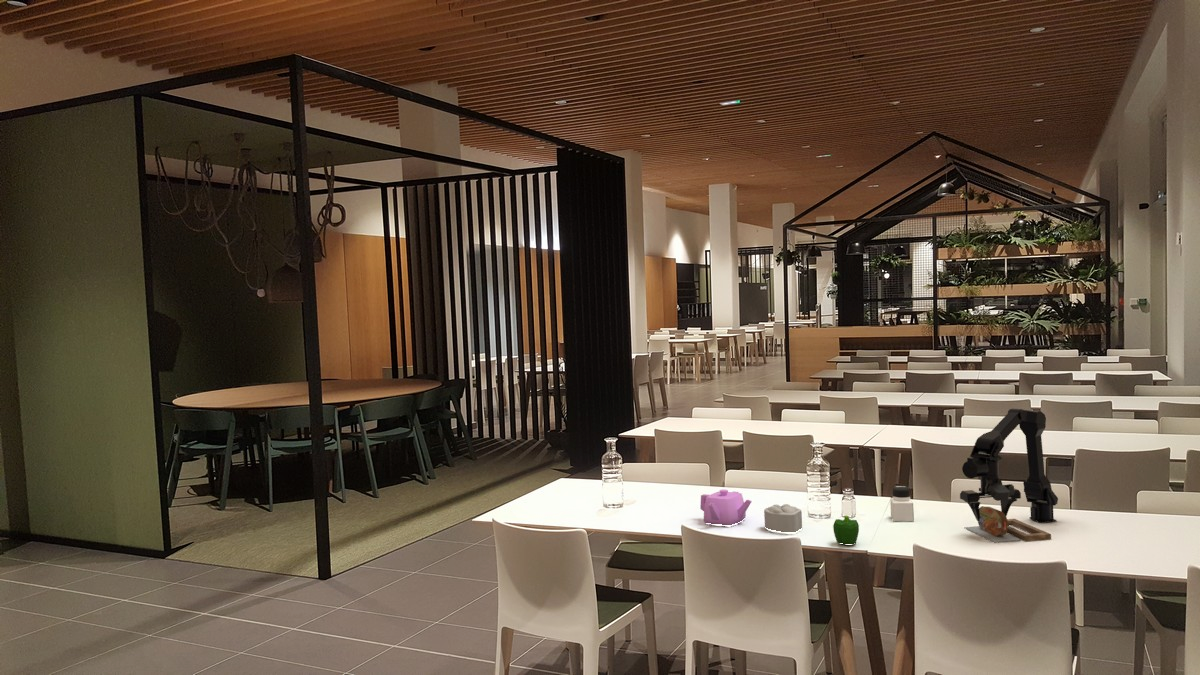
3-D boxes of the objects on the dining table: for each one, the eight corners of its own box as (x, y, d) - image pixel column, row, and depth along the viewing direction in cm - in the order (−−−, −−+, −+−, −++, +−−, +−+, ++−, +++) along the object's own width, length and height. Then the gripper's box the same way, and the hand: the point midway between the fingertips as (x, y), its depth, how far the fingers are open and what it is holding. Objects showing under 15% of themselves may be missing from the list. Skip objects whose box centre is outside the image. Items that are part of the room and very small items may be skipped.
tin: (976, 527, 295) (975, 503, 294) (985, 527, 295) (984, 503, 295) (1000, 539, 280) (1000, 513, 279) (1010, 538, 280) (1009, 513, 280)
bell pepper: (835, 539, 290) (834, 510, 290) (860, 541, 287) (859, 512, 287) (832, 546, 282) (831, 516, 282) (857, 548, 279) (856, 518, 279)
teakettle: (738, 515, 331) (737, 483, 331) (754, 525, 314) (752, 492, 314) (696, 519, 328) (695, 487, 328) (710, 530, 311) (709, 496, 311)
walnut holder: (1014, 523, 299) (1014, 518, 299) (1051, 539, 278) (1051, 534, 278) (990, 525, 298) (989, 520, 298) (1025, 541, 277) (1025, 536, 277)
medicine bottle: (914, 521, 308) (912, 489, 308) (893, 521, 309) (892, 489, 309) (910, 516, 315) (909, 484, 315) (890, 516, 316) (889, 485, 316)
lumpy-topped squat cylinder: (793, 535, 298) (792, 511, 298) (759, 531, 306) (758, 507, 306) (805, 528, 306) (804, 504, 306) (771, 524, 314) (770, 501, 314)
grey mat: (988, 526, 297) (988, 525, 297) (1020, 540, 278) (1020, 539, 278) (964, 528, 296) (964, 527, 296) (994, 542, 277) (994, 541, 277)
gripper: (975, 480, 277) (977, 527, 278) (1029, 476, 279) (1031, 523, 280) (958, 474, 289) (960, 519, 289) (1010, 470, 290) (1012, 515, 291)
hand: (991, 519), depth 287 cm, fingers open, 9 cm apart
